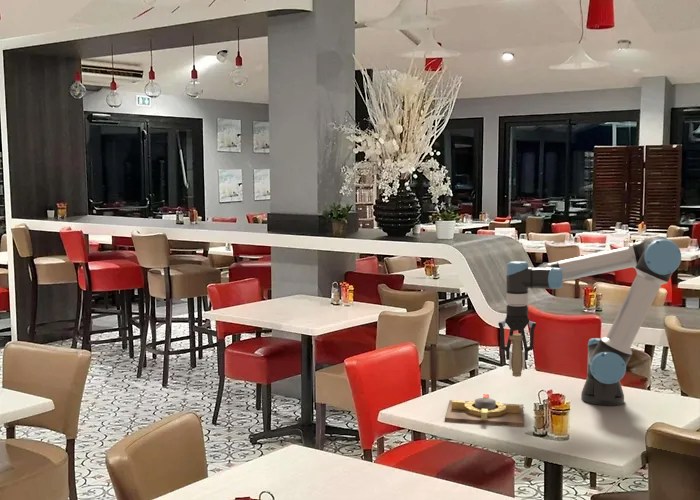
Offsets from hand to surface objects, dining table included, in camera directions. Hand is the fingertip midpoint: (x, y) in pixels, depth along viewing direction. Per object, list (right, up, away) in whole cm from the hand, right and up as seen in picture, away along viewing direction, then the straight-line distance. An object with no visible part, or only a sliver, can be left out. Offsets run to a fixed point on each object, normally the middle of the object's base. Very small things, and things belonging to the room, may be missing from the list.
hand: (516, 368), depth 293 cm
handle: (0, -3, 0) cm, 3 cm away
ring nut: (-14, -13, -12) cm, 22 cm away
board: (-14, -14, -12) cm, 23 cm away
